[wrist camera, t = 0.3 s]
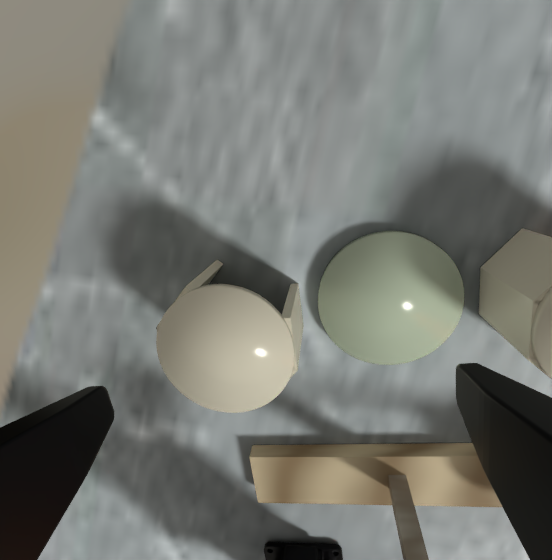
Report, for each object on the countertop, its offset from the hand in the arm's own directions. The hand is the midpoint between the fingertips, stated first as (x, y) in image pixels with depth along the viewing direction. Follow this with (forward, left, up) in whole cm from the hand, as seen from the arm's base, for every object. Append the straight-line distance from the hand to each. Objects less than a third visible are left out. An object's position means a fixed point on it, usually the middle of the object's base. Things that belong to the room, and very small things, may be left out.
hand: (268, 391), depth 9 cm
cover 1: (-3, +4, -14) cm, 15 cm away
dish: (-3, -5, -14) cm, 15 cm away
